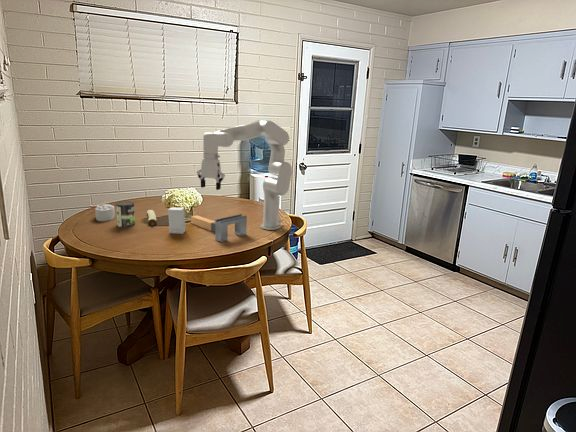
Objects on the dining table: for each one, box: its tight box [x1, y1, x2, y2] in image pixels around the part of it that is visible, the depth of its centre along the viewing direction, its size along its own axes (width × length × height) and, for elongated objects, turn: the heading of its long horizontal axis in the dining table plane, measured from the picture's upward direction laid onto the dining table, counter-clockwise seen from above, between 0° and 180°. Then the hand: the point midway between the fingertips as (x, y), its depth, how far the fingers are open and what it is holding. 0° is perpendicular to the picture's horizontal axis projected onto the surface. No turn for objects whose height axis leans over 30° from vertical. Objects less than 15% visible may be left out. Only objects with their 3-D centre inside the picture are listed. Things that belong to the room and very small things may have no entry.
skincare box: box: [167, 206, 186, 235], centre depth 229 cm, size 8×6×15 cm
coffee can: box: [115, 200, 136, 228], centre depth 237 cm, size 10×10×14 cm
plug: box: [190, 214, 215, 234], centre depth 240 cm, size 5×26×6 cm, turn 49°
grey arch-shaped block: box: [214, 213, 248, 243], centre depth 226 cm, size 19×5×12 cm, turn 139°
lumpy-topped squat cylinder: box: [94, 203, 116, 222], centre depth 250 cm, size 10×13×9 cm
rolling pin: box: [146, 208, 158, 227], centre depth 250 cm, size 32×6×5 cm, turn 20°
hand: (210, 188), depth 212 cm, fingers open, 9 cm apart
